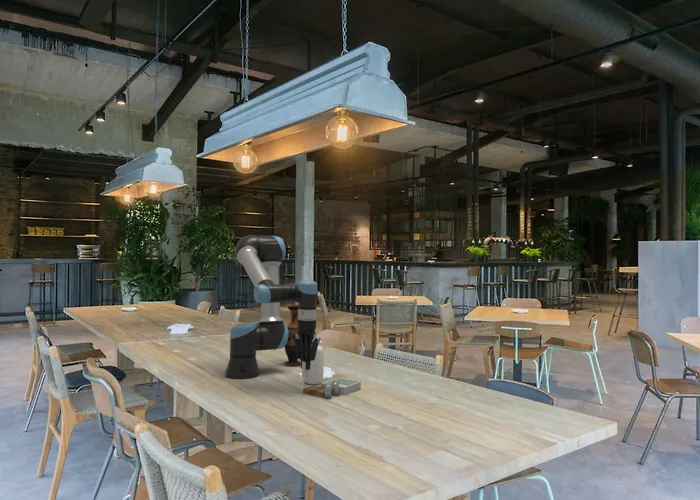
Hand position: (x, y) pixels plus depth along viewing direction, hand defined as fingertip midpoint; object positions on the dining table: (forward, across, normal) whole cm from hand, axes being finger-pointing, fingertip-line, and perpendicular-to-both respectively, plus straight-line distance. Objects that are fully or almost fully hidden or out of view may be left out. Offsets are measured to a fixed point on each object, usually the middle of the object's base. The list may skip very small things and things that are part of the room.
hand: (305, 377), depth 203 cm
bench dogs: (+5, +14, 0) cm, 15 cm away
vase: (+7, -35, +35) cm, 50 cm away
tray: (+5, +11, +10) cm, 16 cm away
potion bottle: (+6, -5, +13) cm, 15 cm away
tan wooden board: (+6, +7, 0) cm, 9 cm away
